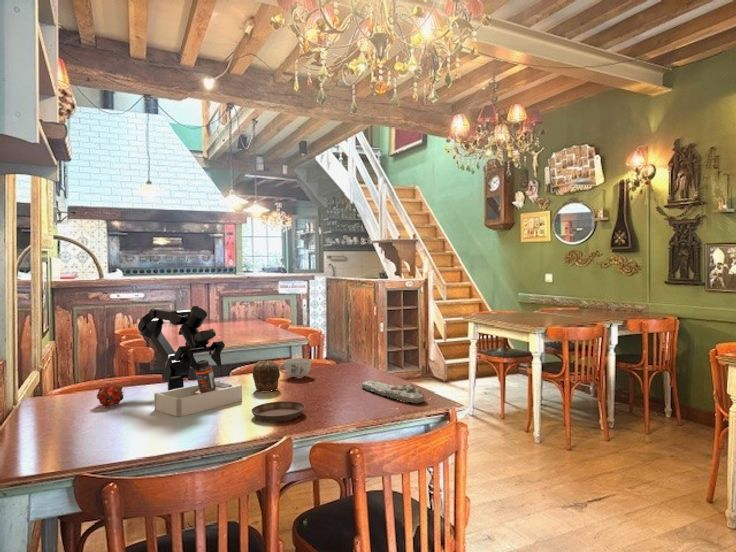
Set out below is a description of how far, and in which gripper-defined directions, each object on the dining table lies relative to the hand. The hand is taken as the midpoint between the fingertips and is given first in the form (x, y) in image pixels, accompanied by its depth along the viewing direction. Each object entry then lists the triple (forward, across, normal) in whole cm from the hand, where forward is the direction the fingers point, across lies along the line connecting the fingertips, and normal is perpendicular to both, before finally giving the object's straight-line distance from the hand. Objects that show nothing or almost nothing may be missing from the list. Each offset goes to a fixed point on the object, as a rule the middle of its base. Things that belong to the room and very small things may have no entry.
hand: (209, 368), depth 184 cm
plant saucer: (+33, +4, -14) cm, 36 cm away
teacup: (+4, +50, +15) cm, 52 cm away
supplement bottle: (+5, 0, +7) cm, 9 cm away
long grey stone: (+43, +49, -24) cm, 69 cm away
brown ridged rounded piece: (+10, +26, +9) cm, 29 cm away
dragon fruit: (-10, -23, +30) cm, 39 cm away
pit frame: (+8, -4, +10) cm, 14 cm away
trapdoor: (+7, +3, +9) cm, 11 cm away
